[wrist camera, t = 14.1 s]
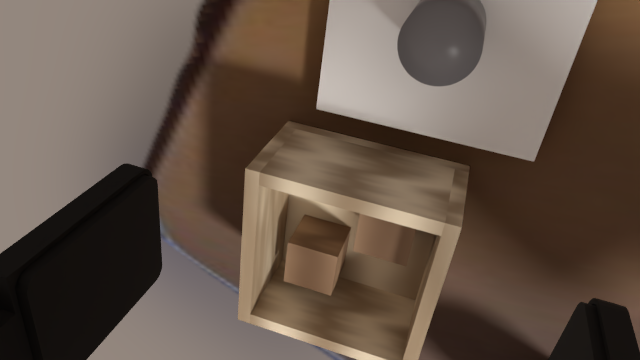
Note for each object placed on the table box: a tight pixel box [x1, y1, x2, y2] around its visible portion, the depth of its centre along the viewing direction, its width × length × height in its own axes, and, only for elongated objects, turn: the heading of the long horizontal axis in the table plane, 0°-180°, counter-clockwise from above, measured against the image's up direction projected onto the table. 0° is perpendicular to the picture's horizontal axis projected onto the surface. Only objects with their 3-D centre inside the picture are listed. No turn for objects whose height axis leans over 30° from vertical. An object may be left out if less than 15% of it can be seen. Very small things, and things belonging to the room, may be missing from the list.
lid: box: [316, 0, 597, 162], centre depth 30 cm, size 15×15×6 cm
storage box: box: [238, 121, 470, 360], centre depth 39 cm, size 14×14×8 cm
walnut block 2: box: [353, 214, 416, 266], centre depth 38 cm, size 4×4×4 cm
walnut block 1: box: [284, 215, 351, 296], centre depth 42 cm, size 4×4×4 cm
